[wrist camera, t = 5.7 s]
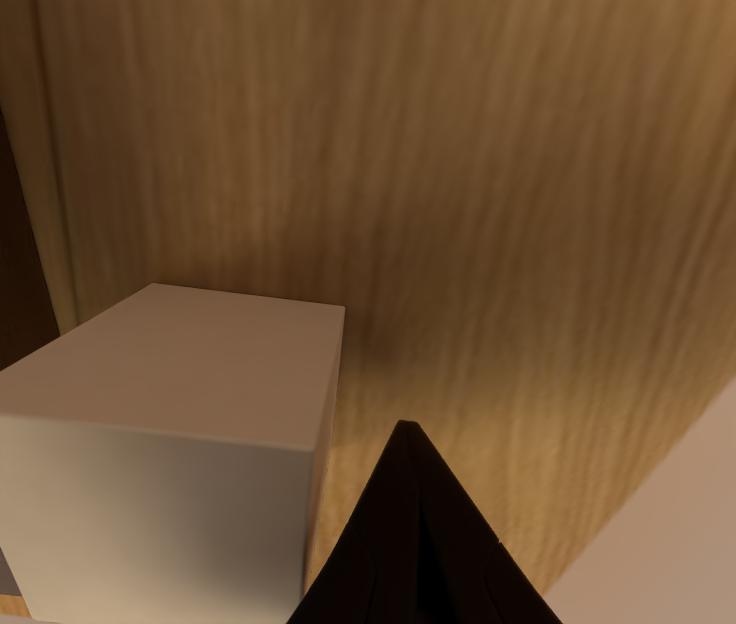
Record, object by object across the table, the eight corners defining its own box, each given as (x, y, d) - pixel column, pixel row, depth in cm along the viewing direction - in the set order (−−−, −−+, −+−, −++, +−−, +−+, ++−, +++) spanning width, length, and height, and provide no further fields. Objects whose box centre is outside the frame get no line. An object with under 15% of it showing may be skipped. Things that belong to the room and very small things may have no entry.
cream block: (345, 305, 9) (314, 450, 5) (330, 450, 11) (298, 648, 7) (151, 281, 9) (-66, 407, 5) (171, 432, 11) (31, 622, 7)
